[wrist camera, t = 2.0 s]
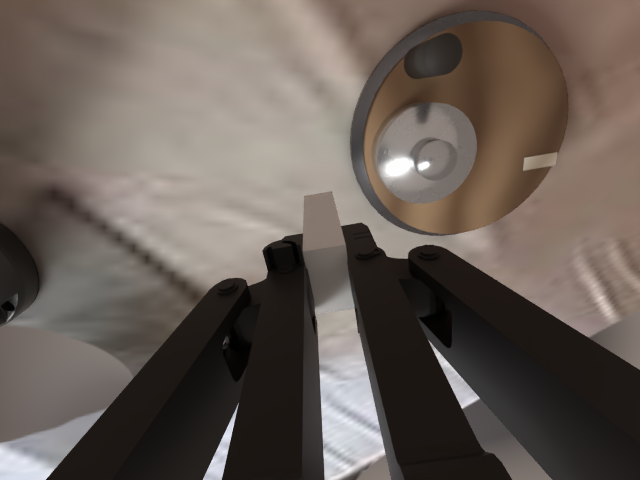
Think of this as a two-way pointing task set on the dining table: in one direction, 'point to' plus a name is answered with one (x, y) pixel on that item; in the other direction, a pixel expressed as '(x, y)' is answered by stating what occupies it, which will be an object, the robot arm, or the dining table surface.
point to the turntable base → (378, 78)
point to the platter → (479, 118)
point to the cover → (424, 151)
